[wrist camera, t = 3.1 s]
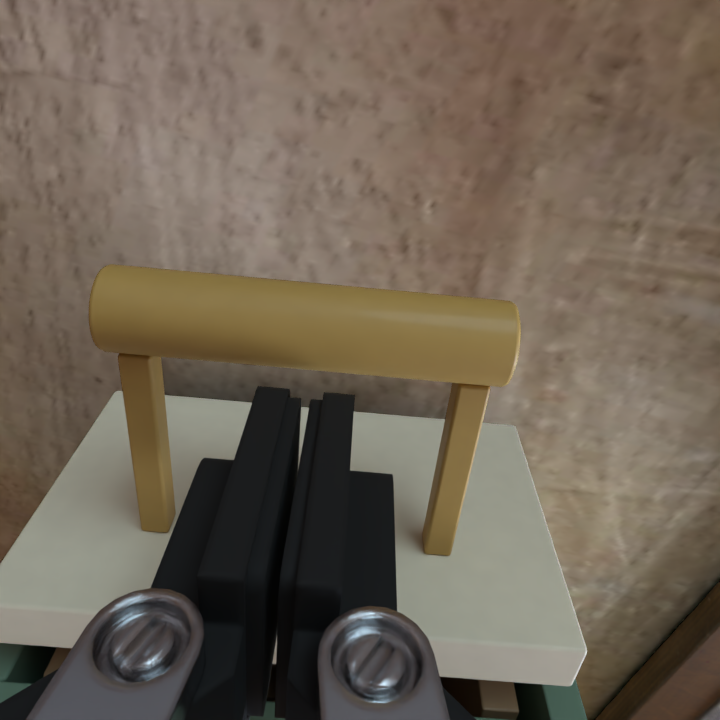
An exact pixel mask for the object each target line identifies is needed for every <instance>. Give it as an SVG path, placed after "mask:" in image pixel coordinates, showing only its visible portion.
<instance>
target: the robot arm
mask: <svg viewBox="0 0 720 720" xmlns="http://www.w3.org/2000/svg"><path fill="white" fill-rule="evenodd" d="M354 400H355V395H350V394H339V393H328V392H324V394H323V400H313V399H311V401H310V406H309V412H308V417H307V423H306V429H305V434H304V440H303V446H302V452H301V457H300V463H299V469H298V461H299V440H300V420H301V398H291V397H290V389H284V388H273V387H262V386H258V387H257V390H256V392H255V396H254V399H253V402H252V405H251V408H250V411H249V414H248V418H247V421H246V424H245V427H244V430H243V433H242V436H241V439H240V443H239V446H238V449H237V452H236V455H235V458H234V460H226V459H215V458H203V459H202V460H201V462H200V464H199V466H198V468H197V471H196V473H195V476H194V478H193V481H192V483H191V486H190V488H189V491H188V493H187V496H186V499H185V501H184V504H183V506H182V509H181V511H180V514H179V516H178V519H177V521H176V524H175V527H174V529H173V532H172V534H171V537H170V539H169V542H168V544H167V547H166V550H165V552H164V555H163V557H162V560H161V562H160V565H159V567H158V570H157V572H156V575H155V578H154V580H153V583H152V585H151V588H149V589H143V590H137V591H133V592H130V593H128V594H126V595H123V596H121V597H119V598H116V599H115V600H113V601H112V602H111V603H109V604H108V605H106V606H105V607H104V608H102V609H101V610H100V611H99V612H98V613H97V614H96V615H95V616H94V618H93V619H92V620H91V621H90V622H89V623H88V625H87V626H86V628H85V629H84V631H83V632H82V634H81V635H80V637H79V638H78V640H77V641H76V643H75V644H74V646H73V648H72V649H71V651H70V652H69V654H68V655H67V657H66V658H65V660H64V661H63V663H62V664H61V666H60V667H59V669H57V670H55V671H53V672H52V673H50V674H48V675H47V676H45V677H43V678H42V679H40V680H38V681H37V682H35V683H33V684H31V685H30V686H28V687H26V688H25V689H23V690H21V691H20V692H18V693H16V694H15V695H13V696H11V697H10V698H8V699H6V700H4V701H3V702H1V703H0V720H249V718H250V716H261V717H263V715H264V711H265V705H266V699H267V693H268V687H269V681H270V675H271V669H272V663H273V656H274V650H275V644H276V638H277V657H276V688H275V718H285V720H476V719H475V718H474V717H473V716H472V715H471V714H470V713H469V712H468V711H467V710H466V709H465V708H464V707H463V706H462V705H461V704H460V703H459V702H458V701H457V700H456V699H455V698H454V697H453V696H452V695H451V694H450V693H448V692H447V691H446V690H445V689H444V688H443V687H442V684H441V680H440V676H439V672H438V667H437V663H436V659H435V655H434V652H433V650H432V647H431V645H430V642H429V640H428V637H427V636H426V635H425V634H424V632H423V631H422V630H421V629H420V627H419V626H418V625H417V624H416V623H415V622H413V621H412V620H411V619H409V618H408V617H406V616H405V615H404V614H402V613H400V612H397V587H396V551H395V516H394V482H393V475H392V474H385V473H374V472H362V471H351V470H350V462H351V446H352V431H353V415H354Z"/></svg>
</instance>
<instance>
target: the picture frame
mask: <svg viewBox="0 0 720 720" xmlns="http://www.w3.org/2000/svg"><path fill="white" fill-rule="evenodd" d="M595 720H720V581H719V583H717V584H716V585H715V586H714V588H713V589H712V590H711V591H710V593H708V595H707V596H706V597H705V598H704V599H703V600H702V602H701V603H700V604H699V605H698V606H697V607H696V609H695V610H694V611H693V612H692V613H691V614H689V615H688V617H687V618H686V619H685V620H684V621H683V622H682V623H681V624H680V626H678V628H677V629H676V631H675V632H674V633H673V634H672V635H671V636H670V637H669V638H668V639H667V640H666V641H665V642H664V644H662V645H661V647H659V649H658V650H657V651H656V652H655V653H654V654H653V655H652V656H651V658H650V659H649V660H648V661H647V662H646V663H645V665H643V667H642V668H641V669H640V670H639V671H638V672H637V673H636V674H635V675H634V676H633V677H632V678H631V680H630V681H629V682H628V683H627V684H626V685H625V687H624V688H623V689H622V690H621V691H620V693H619V694H618V695H617V696H616V697H615V698H614V699H613V700H612V701H611V702H610V703H609V704H608V705H607V707H606V708H605V709H604V710H603V711H602V713H601V714H600V715H599V716H598V717H597V718H596V719H595Z"/></svg>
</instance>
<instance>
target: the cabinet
mask: <svg viewBox="0 0 720 720" xmlns="http://www.w3.org/2000/svg"><path fill="white" fill-rule="evenodd" d="M56 648H57V647H48V646H35V645H22V644H9V643H0V703H1V702H3V701H4V700H6V699H8V698H10V697H11V696H13V695H15V694H16V693H18V692H20V691H21V690H23V689H25V688H26V687H28V686H30V685H31V684H33V683H35V682H37V681H38V680H40V679H42V678H43V677H44V672H45V670H46V668H47V666H48V664H49V662H50V660H51V658H52V656H53V654H54V652H55V650H56ZM514 687H515V692H516V697H517V702H518V707H519V714H518V716H517V719H516V720H587V717H586V714H585V710H584V707H583V703H582V700H581V696H580V693H579V689H578V686H577V683H576V679H575V680H574V682H573V684H572V685H571V686H556V685H543V684H530V683H517V682H514ZM474 718H475V719H476V720H509V719H496V718H482V717H474ZM249 720H285V718H275V702H270V701H266V705H265V711H264V715H263V717H261V716H250V718H249Z"/></svg>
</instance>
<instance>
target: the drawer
mask: <svg viewBox="0 0 720 720" xmlns="http://www.w3.org/2000/svg"><path fill="white" fill-rule="evenodd" d="M89 326H90V332H91V335H92V338H93V341H94V343H95V345H96V346H97V347H98V348H99V349H101V350H103V351H105V352H113V353H119V355H118V362H119V370H120V377H121V384H122V391H115V392H114V394H113V395H112V397H111V398H110V400H109V401H108V403H107V404H106V406H105V407H104V409H103V410H102V412H101V413H100V415H99V416H98V418H97V419H96V421H95V422H94V424H93V425H92V427H91V428H90V430H89V431H88V433H87V434H86V436H85V437H84V439H83V440H82V442H81V443H80V445H79V446H78V448H77V449H76V451H75V452H74V454H73V455H72V457H71V458H70V460H69V461H68V463H67V464H66V466H65V467H64V469H63V470H62V472H61V473H60V475H59V476H58V478H57V479H56V481H55V482H54V484H53V485H52V487H51V488H50V490H49V491H48V493H47V494H46V496H45V497H44V499H43V500H42V502H41V503H40V505H39V506H38V508H37V509H36V511H35V512H34V514H33V515H32V517H31V518H30V520H29V521H28V523H27V524H26V526H25V527H24V529H23V530H22V532H21V533H20V535H19V536H18V538H17V539H16V541H15V542H14V544H13V545H12V547H11V548H10V550H9V551H8V553H7V554H6V556H5V557H4V559H3V560H2V562H1V563H0V643H9V644H22V645H35V646H48V647H57V648H56V650H55V652H54V654H53V656H52V658H51V660H50V662H49V664H48V666H47V668H46V670H45V672H44V677H45V676H47V675H48V674H50V673H52V672H53V671H55V670H57V669H59V667H60V666H61V664H62V663H63V661H64V660H65V658H66V657H67V655H68V654H69V652H70V651H71V649H72V648H73V646H74V644H75V643H76V641H77V640H78V638H79V637H80V635H81V634H82V632H83V631H84V629H85V628H86V626H87V625H88V623H89V622H90V621H91V620H92V619H93V618H94V616H95V615H96V614H97V613H98V612H99V611H100V610H101V609H102V608H104V607H105V606H106V605H108V604H109V603H111V602H112V601H113V600H115V599H116V598H119V597H121V596H123V595H126V594H128V593H130V592H133V591H137V590H143V589H149V588H151V585H152V583H153V580H154V578H155V575H156V572H157V570H158V567H159V565H160V562H161V560H162V557H163V555H164V552H165V550H166V547H167V544H168V542H169V539H170V537H171V534H172V532H173V529H174V527H175V524H176V521H177V519H178V516H179V514H180V511H181V509H182V506H183V504H184V501H185V499H186V496H187V493H188V491H189V488H190V486H191V483H192V481H193V478H194V476H195V473H196V471H197V468H198V466H199V464H200V462H201V460H202V459H203V458H215V459H226V460H234V458H235V455H236V452H237V449H238V446H239V443H240V439H241V436H242V433H243V430H244V427H245V424H246V421H247V418H248V414H249V411H250V408H251V405H252V403H251V402H239V401H228V400H216V399H205V398H194V397H182V396H171V395H165V394H164V383H163V373H162V362H161V357H169V358H181V359H192V360H203V361H214V362H226V363H237V364H248V365H260V366H271V367H282V368H293V369H305V370H316V371H327V372H339V373H350V374H361V375H372V376H384V377H395V378H406V379H418V380H429V381H440V382H451V383H452V388H451V393H450V398H449V403H448V408H447V413H446V418H445V419H435V418H423V417H412V416H400V415H389V414H377V413H366V412H354V415H353V431H352V446H351V462H350V470H351V471H362V472H374V473H385V474H392V475H393V482H394V516H395V551H396V587H397V612H400V613H402V614H404V615H405V616H406V617H408V618H409V619H411V620H412V621H413V622H415V623H416V624H417V625H418V626H419V627H420V629H421V630H422V631H423V632H424V634H425V635H426V636H427V637H428V640H429V642H430V645H431V647H432V650H433V652H434V655H435V659H436V663H437V667H438V672H439V676H440V680H441V684H442V687H443V688H444V689H445V690H446V691H447V692H448V693H450V694H451V695H452V696H453V697H454V698H455V699H456V700H457V701H458V702H459V703H460V704H461V705H462V706H463V707H464V708H465V709H466V710H467V711H468V712H469V713H470V714H471V715H472V716H473V717H482V718H496V719H509V720H516V719H517V716H518V714H519V707H518V702H517V697H516V692H515V687H514V682H517V683H530V684H543V685H556V686H571V685H572V684H573V682H574V680H575V677H576V675H577V673H578V671H579V669H580V667H581V665H582V662H583V660H584V658H585V656H586V654H587V648H586V644H585V641H584V638H583V635H582V632H581V629H580V626H579V623H578V620H577V616H576V613H575V610H574V607H573V604H572V601H571V598H570V595H569V591H568V588H567V585H566V582H565V579H564V576H563V573H562V570H561V567H560V563H559V560H558V557H557V554H556V551H555V548H554V545H553V542H552V539H551V535H550V532H549V529H548V526H547V523H546V520H545V517H544V514H543V510H542V507H541V504H540V501H539V498H538V495H537V492H536V489H535V486H534V482H533V479H532V476H531V473H530V470H529V467H528V464H527V461H526V458H525V454H524V451H523V448H522V445H521V442H520V439H519V436H518V433H517V429H516V427H515V426H514V425H503V424H492V423H483V419H484V415H485V411H486V407H487V402H488V398H489V394H490V386H497V387H502V386H505V385H507V384H508V383H509V382H510V380H511V378H512V376H513V374H514V371H515V368H516V365H517V360H518V356H519V349H520V338H521V327H520V318H519V312H518V309H517V306H516V305H515V304H514V303H512V302H510V301H504V300H494V299H483V298H472V297H461V296H450V295H439V294H428V293H418V292H407V291H396V290H385V289H374V288H363V287H352V286H342V285H331V284H320V283H309V282H298V281H287V280H276V279H266V278H255V277H244V276H233V275H222V274H211V273H200V272H190V271H179V270H168V269H157V268H146V267H135V266H124V265H114V264H112V265H108V266H105V267H103V268H102V269H101V270H100V271H99V273H98V274H97V276H96V278H95V280H94V283H93V286H92V290H91V294H90V301H89ZM308 412H309V408H308V407H301V420H300V440H299V461H298V469H299V463H300V457H301V452H302V446H303V440H304V434H305V429H306V423H307V417H308ZM276 657H277V638H276V644H275V650H274V656H273V663H272V669H271V675H270V681H269V687H268V693H267V699H266V701H270V702H275V688H276Z"/></svg>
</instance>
